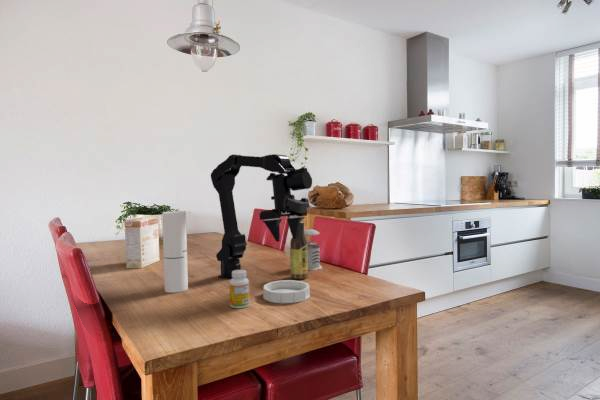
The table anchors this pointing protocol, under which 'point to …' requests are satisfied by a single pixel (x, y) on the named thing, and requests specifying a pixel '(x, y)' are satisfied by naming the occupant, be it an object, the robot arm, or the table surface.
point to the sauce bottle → (299, 255)
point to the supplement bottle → (239, 289)
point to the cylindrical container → (175, 251)
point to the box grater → (312, 248)
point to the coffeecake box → (141, 242)
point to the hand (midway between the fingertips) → (286, 240)
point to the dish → (286, 291)
